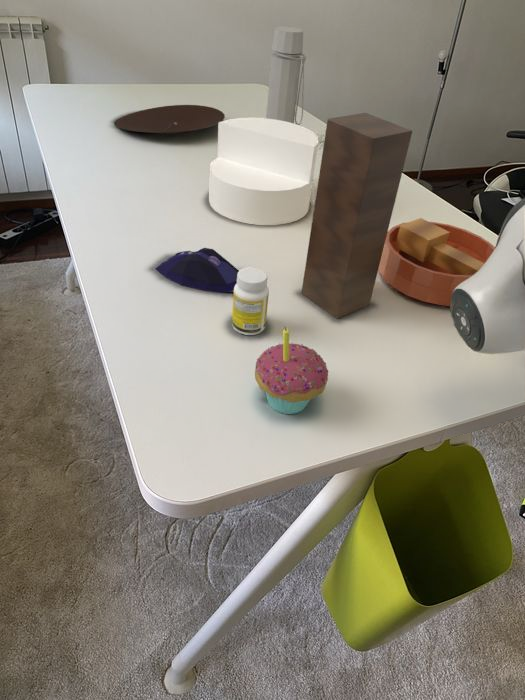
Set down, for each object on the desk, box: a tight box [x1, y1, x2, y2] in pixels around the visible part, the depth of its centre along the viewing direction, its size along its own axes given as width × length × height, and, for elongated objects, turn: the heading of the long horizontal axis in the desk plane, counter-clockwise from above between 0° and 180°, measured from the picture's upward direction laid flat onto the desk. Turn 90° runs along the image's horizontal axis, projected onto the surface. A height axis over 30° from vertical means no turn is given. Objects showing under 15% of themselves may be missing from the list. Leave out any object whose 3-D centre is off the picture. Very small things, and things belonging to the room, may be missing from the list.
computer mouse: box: [155, 247, 240, 294], centre depth 86 cm, size 9×15×4 cm, turn 64°
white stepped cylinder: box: [208, 117, 319, 226], centre depth 106 cm, size 20×20×13 cm
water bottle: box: [265, 26, 307, 126], centre depth 132 cm, size 9×8×25 cm
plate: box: [113, 104, 226, 135], centre depth 140 cm, size 28×28×4 cm
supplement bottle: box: [231, 266, 270, 336], centre depth 75 cm, size 5×5×8 cm
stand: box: [301, 112, 413, 320], centre depth 76 cm, size 8×7×26 cm
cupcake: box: [254, 324, 329, 415], centre depth 63 cm, size 9×8×12 cm
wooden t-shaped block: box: [395, 217, 485, 275], centre depth 88 cm, size 15×6×4 cm, turn 39°
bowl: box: [378, 221, 496, 307], centre depth 90 cm, size 18×18×6 cm
